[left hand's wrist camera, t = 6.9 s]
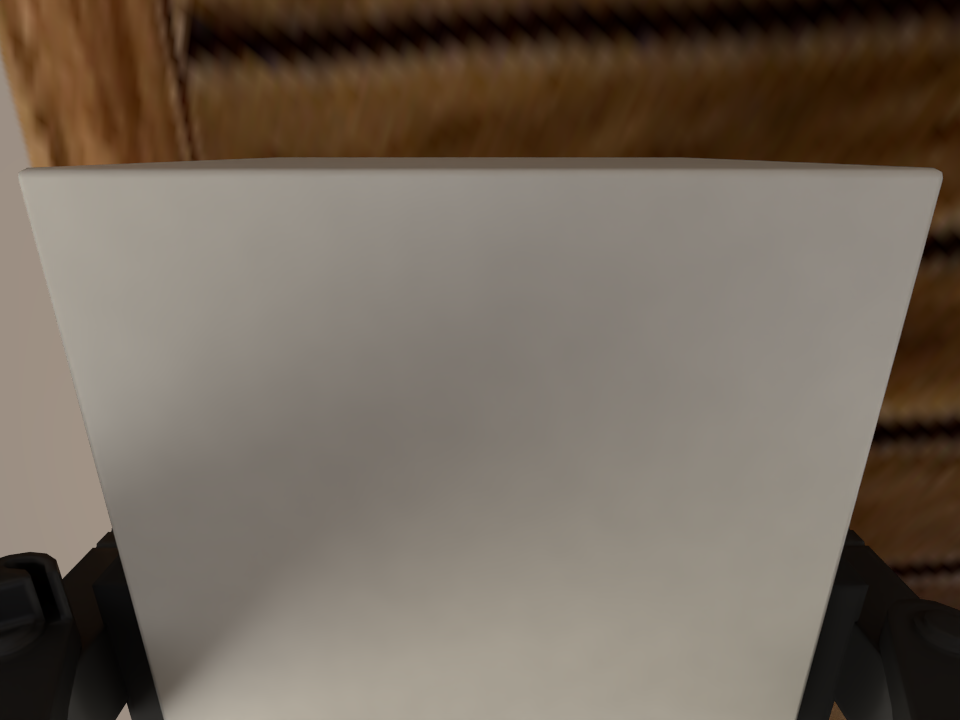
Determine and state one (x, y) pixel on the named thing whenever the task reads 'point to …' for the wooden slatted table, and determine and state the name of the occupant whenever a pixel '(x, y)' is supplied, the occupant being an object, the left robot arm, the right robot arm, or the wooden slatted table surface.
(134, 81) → the wooden slatted table surface
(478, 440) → the long square beam
